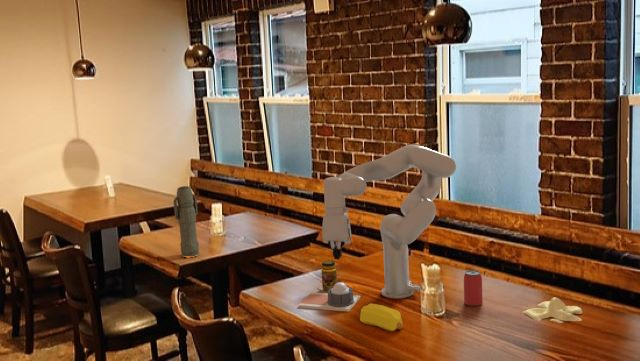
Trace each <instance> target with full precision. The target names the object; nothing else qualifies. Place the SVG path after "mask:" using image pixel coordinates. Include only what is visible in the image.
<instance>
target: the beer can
mask: <svg viewBox="0 0 640 361" xmlns="http://www.w3.org/2000/svg"><path fill="white" fill-rule="evenodd" d="M463 301H464V302H463V303H464V304H465V305H466V306H469V307H479V306H481V305H482V304H483V277H482V274H481V272H480V271H479V270H475V269H471V270H466V271H465V272H464V276H463Z"/></svg>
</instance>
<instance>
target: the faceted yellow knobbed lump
mask: <svg viewBox="0 0 640 361" xmlns="http://www.w3.org/2000/svg"><path fill="white" fill-rule="evenodd" d="M359 321H360V322H361V323H363V324H366V325H369V326H374V327H375V326H376V327H378V328H381V329H384V330H386V331H390V332H393V331H396V330H401V329H402V328H403V326H404V324H403V319H402V316H401V313H400V311H398V310H397V309H395V308H391V307H388V306H386V305H382V304H376V303H372V302H371V303H369V304H366V305H364V306H362V308H361V309H360V317H359Z"/></svg>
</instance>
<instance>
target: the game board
mask: <svg viewBox="0 0 640 361" xmlns="http://www.w3.org/2000/svg"><path fill="white" fill-rule="evenodd" d="M347 287H348V288H349V293H346V294H341V295H340V294H332V293H331V289H332V288H330V289H329V290H328V293H323V292H313V291H312V292H311V293H310V294H308V296H306V297H305V298H304V299H303V300H302V301H301V302H300V303H299V304H298V308H300V309H313V310H323V311H324V310H325V311H334V312H335V311H337V312H350V311H351V309H352V308H353V307H354V306H355V305H356V303H357V302H358V301H359V300H360V299H361V295H357V294H356V295H354V289H353V288H351V287H350V286H347Z"/></svg>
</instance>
